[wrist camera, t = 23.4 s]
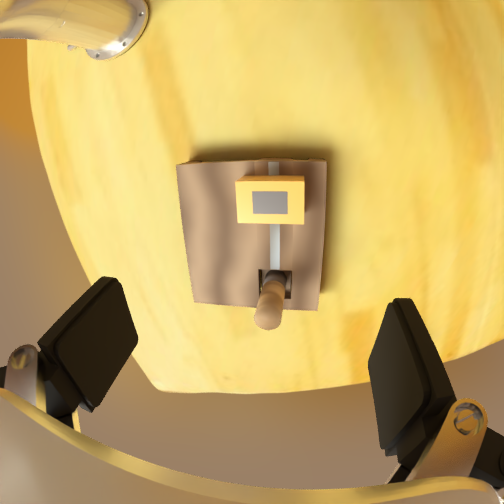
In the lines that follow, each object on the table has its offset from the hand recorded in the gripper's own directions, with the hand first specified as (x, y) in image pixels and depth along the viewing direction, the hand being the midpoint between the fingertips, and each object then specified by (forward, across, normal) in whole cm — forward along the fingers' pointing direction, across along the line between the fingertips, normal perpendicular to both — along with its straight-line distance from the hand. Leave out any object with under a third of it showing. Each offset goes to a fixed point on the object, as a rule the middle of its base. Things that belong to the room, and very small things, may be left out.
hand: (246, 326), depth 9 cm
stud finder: (+24, +1, +2) cm, 24 cm away
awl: (+26, +1, +14) cm, 29 cm away
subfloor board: (+28, +4, +8) cm, 30 cm away
